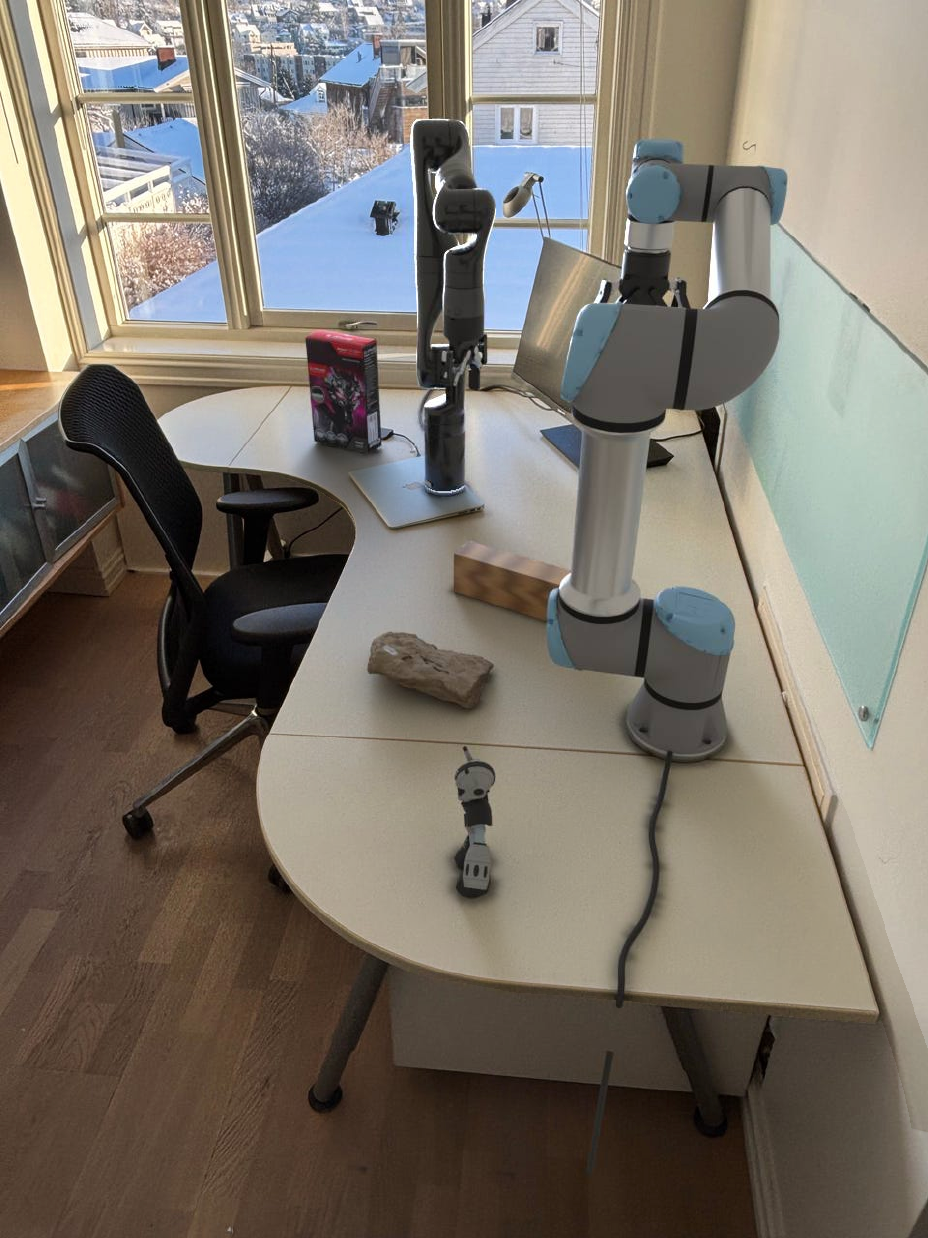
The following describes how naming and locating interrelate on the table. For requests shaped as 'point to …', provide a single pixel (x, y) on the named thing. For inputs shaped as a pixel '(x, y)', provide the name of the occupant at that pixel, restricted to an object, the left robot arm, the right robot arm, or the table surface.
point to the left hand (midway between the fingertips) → (462, 396)
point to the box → (506, 579)
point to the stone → (429, 668)
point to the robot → (474, 825)
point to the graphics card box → (344, 390)
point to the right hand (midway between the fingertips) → (633, 378)
